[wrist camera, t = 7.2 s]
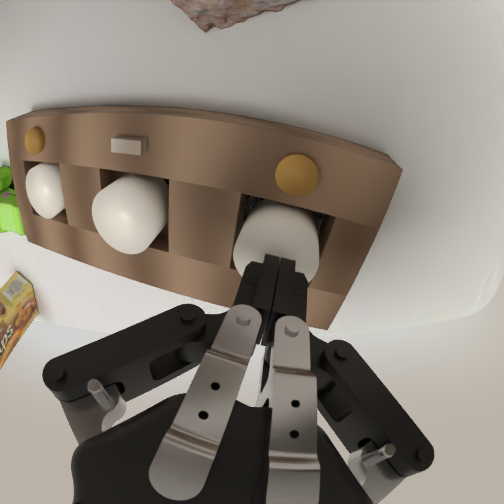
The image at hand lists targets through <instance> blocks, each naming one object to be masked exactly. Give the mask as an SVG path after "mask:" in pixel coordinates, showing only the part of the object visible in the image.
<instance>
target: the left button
mask: <svg viewBox="0 0 504 504" xmlns="http://www.w3.org/2000/svg"><path fill="white" fill-rule="evenodd" d="M26 191H27V195H28V198H29V201H30V203H31V205H32V206H33V208H34V209H35V211H36V212H37V213H38V214H39V215H41V216H42V217H44V218H47V219H50V218H53V217H54V216H55V215H57V214H58V213H59V212H61V211H62V210H63V209H65V203H64V197H63V191H62V184H61V177H60V168H59V163H48V162H42V163H40V164H39V165H37V166H35V167H33V168H31V169H30V170H29V171H28V173H27V176H26Z"/></svg>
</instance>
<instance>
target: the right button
mask: <svg viewBox="0 0 504 504" xmlns="http://www.w3.org/2000/svg"><path fill="white" fill-rule="evenodd" d="M265 253H266V254H271V255H275V256H279V257H280V259H281V257H283V258H287V259H291V260H295V261H296V266H295V271H296V272H300V273H304V275H305V277H306V279H307V281H308V283H309V282H310V281H311V280H312V279H313V277H314V276H315V274H316V272H317V270H318V267H319V243H318V226H317V222H316V219H315V217H314V215H313V214H312V212H311V211H310V210H309V209H305V208H301V207H297V206H293V205H289V204H285V203H281V202H277V201H273V200H268V199H265V200H263V201H261V202H259V203H258V204H256V205H255V206H254V207H253V208H252V209H251V210H250V212H249V213H248V215H247V218H246V220H245V222H244V225H243V227H242V229H241V232H240V234H239V236H238V239H237V241H236V244H235V246H234V250H233V260H234V264H235V266H236V269H237V270H238V272H239V274H240V275H241V276H243V273H244V270H245V267H246V266H247V265H248V264H249V263H250V262H251V261H255V262H259V263H263V261H264V257H265ZM279 262H280V260H279Z"/></svg>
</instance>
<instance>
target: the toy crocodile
mask: <svg viewBox="0 0 504 504" xmlns="http://www.w3.org/2000/svg"><path fill="white" fill-rule="evenodd" d="M11 183H12V171H11V168H9V167H0V233H4V232H7V231H12V232H15V233H17V234H19V235H20V236H23V235H26V233H25V229H24V226H23V222H22V218H21V215H20V211H19V206H18V202H17V198H16V193H15V190H13V189H11V188H9V186H10V184H11Z"/></svg>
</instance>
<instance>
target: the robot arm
mask: <svg viewBox="0 0 504 504" xmlns="http://www.w3.org/2000/svg"><path fill="white" fill-rule="evenodd" d="M279 260H280V262H279ZM295 266H296V261H295V260H291V259H287V258H283V257H281V259H280V257H279V256H275V255H271V254H266V253H265V257H264V261H263V263H259V262H255V261H251V262H250V263H249V264H248V265H247V266H246V267H245V270H244V273H243V276H242V279H241V282H240V285H239V288H238V291H237V294H236V297H235V300H234V303H233V306H232V307H231V308H230V309H229V310H228V311H226V312H224V313H221V314H205V312H204V311H203V310H202V309H201V308H200V307H198V306H196V305H193V304H182V305H179V306H177V307H174V308H172V309H170V310H167V311H165V312H163V313H161V314H158V315H156V316H154V317H151V318H149V319H147V320H144V321H142V322H140V323H137V324H135V325H133V326H130V327H128V328H126V329H123V330H121V331H119V332H116V333H114V334H111V335H109V336H107V337H105V338H102V339H100V340H97V341H95V342H92V343H90V344H88V345H85V346H83V347H80V348H78V349H75V350H73V351H70V352H68V353H66V354H63V355H61V356H58V357H56V358H53V359H51V360H50V361H49V362H47V364H46V365H45V367H44V369H43V374H42V376H43V381H44V383H45V385H46V386H47V387H48V388H49V389H50V390H51V391H52V393H53V394H54V395H55V397H56V398H57V399H58V400H59V401H60V403H61V405H62V408H63V410H64V413H65V415H66V417H67V420H68V422H69V424H70V426H71V429H72V431H73V433H74V435H75V437H76V439H77V441H78V443H79V446H78V447H77V448H76V450H75V451H74V454H73V456H72V461H71V471H72V477H73V483H74V500H73V504H378V503H379V502H380V501H381V500H382V499H383V498H385V497H386V496H387V495H388V494H389V493H390V492H391V491H392V490H393V489H394V488H395V487H397V485H399V484H400V483H401V482H402V481H403V480H404V479H405V478H406V477H408V476H411V475H413V474H416V473H419V472H422V471H424V470H426V469H428V468H429V467H430V466H431V464H432V462H433V460H434V449H433V446H432V445H431V443H430V442H429V441H428V440H427V438H426V437H425V436H424V434H423V433H422V432H421V431H420V429H419V428H418V427H417V426H416V424H415V423H414V422H413V420H412V419H411V418H410V417H409V415H408V414H407V413H406V411H405V410H404V409H403V408H402V407H401V405H400V404H399V403H398V401H397V400H396V399H395V398H394V396H392V394H391V393H390V392H389V390H388V389H387V388H386V387H385V385H384V384H383V383H382V382H381V381H380V379H379V378H378V377H377V376H376V374H375V373H374V372H373V371H372V369H371V368H370V367H369V366H368V365H367V363H366V362H365V361H364V360H363V358H362V357H361V356H360V355H359V354H358V352H357V351H356V350H355V349H354V347H353V346H352V345H351V344H349V343H348V342H346V341H343V340H333V341H331V342H329V343H326V342H324V341H322V340H320V339H318V338H317V337H315V336H314V335H313V334H312V333H311V332H310V331H309V328H308V326H307V324H306V313H307V292H308V291H307V290H308V281H307V279H306V277H305V275H304V273H300V272H296V271H295ZM262 335H263V336H262ZM261 338H262V341H261ZM260 341H261V345H263V346H266V348H265V353H264V356H263V359H262V364H261V373H260V382H259V391H258V398H257V402H256V406H255V407H250V406H247V405H245V404H243V403H241V402H239V401H237V400H236V398H237V395H238V393H239V390H240V387H241V384H242V381H243V378H244V375H245V372H246V369H247V366H248V363H249V360H250V357H251V356H252V355H253V353H254V349H255V346H256V344H260ZM199 364H200V366H199V368H198V370H197V372H196V374H195V376H194V379H193V381H192V383H191V385H190V387H189V389H188V391H187V393H183V394H178V395H174V396H171V397H169V398H167V399H165V400H163V401H161V402H159V403H157V404H156V405H154V406H152V407H150V408H148V409H146V410H145V411H143V412H141V413H139V414H137V415H136V416H133V417H131V418H130V419H128V420H126V421H124V422H122V423H120V424H118V425H116V426H114V427H112V425H113V424H114V423H115V422H116V421H117V420H119V419H120V418H121V417H122V416H123V415H124V413H125V411H126V403H125V402H127V401H129V400H131V399H133V398H135V397H138V396H140V395H142V394H144V393H146V392H148V391H150V390H152V389H153V388H156V387H158V386H160V385H162V384H164V383H166V382H168V381H170V380H172V379H174V378H175V377H177V376H179V375H181V374H183V373H185V372H187V371H188V370H190V369H192V368H194V367H196V366H198V365H199ZM317 408H318V410H319V411H320V413H321V414H322V416H323V417H324V418H325V420H326V421H327V423H328V424H329V425H330V427H331V428H332V429H333V431H334V432H335V434H336V435H337V436H338V438H339V439H340V441H341V442H342V443H343V445H344V446H345V447H346V449H347V450H348V451H349V453H350V456H349V459H348V466H347V464H346V463H345V461H344V460H343V458H342V457H341V455H340V454H339V452H338V451H337V449H336V448H335V446H334V445H333V443H332V442H331V440H330V439H329V437H328V436H327V434H326V433H325V432H324V431H323V429H322V428H321V427H319V426H318V425H317ZM111 427H112V428H111Z"/></svg>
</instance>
